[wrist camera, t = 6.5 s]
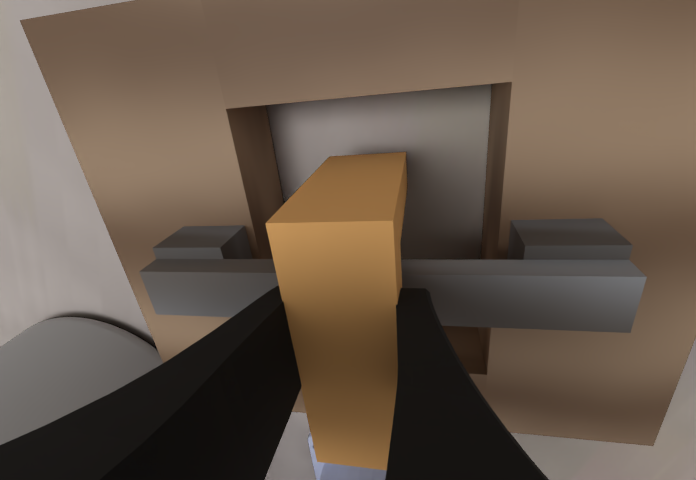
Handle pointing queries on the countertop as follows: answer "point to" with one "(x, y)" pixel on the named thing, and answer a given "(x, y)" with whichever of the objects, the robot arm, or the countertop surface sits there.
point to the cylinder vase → (65, 370)
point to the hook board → (500, 190)
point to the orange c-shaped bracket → (345, 300)
